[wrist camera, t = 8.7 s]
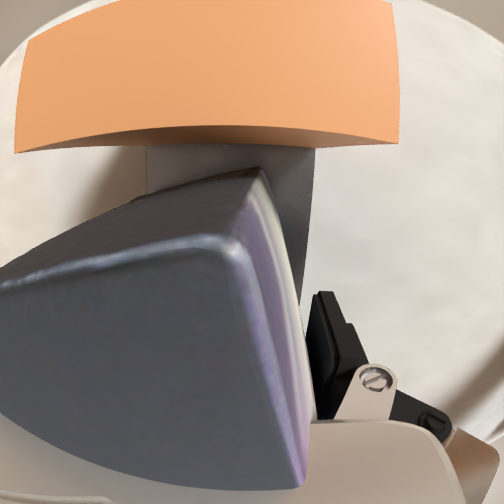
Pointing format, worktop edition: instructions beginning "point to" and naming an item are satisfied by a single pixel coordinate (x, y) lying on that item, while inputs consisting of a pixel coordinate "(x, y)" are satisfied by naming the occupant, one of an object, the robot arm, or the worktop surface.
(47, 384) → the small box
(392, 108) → the vise slide jaw
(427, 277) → the worktop surface
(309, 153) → the grey bent bar
